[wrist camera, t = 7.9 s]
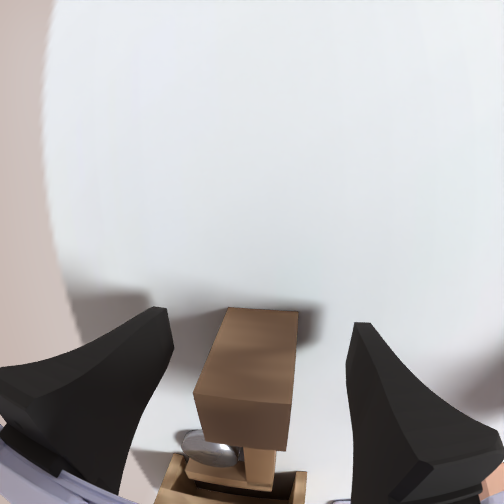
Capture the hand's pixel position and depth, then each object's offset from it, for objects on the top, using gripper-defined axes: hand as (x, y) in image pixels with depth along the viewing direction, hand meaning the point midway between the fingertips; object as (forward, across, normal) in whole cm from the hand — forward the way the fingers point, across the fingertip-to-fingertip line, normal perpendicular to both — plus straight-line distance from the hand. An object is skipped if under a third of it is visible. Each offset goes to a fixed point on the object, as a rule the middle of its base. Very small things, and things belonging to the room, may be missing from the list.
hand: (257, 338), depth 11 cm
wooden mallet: (+2, +2, +8) cm, 8 cm away
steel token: (+2, +4, +12) cm, 13 cm away
